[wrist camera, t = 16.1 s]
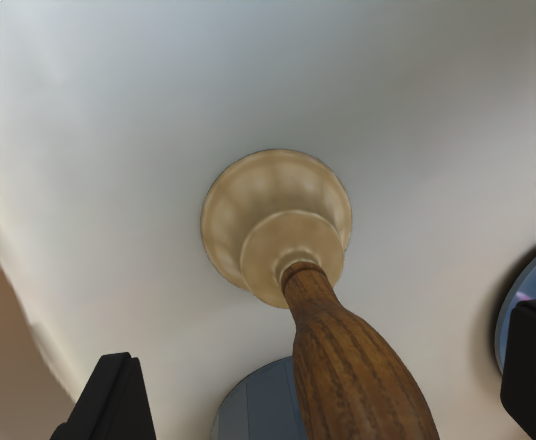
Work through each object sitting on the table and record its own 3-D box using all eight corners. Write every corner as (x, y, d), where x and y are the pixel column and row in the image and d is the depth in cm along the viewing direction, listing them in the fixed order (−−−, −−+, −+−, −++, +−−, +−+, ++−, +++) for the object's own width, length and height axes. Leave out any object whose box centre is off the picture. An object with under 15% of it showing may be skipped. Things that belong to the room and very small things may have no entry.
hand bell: (303, 117, 19) (607, 153, 4) (376, 244, 21) (740, 584, 6) (169, 204, 19) (-50, 548, 4) (254, 318, 22) (309, 795, 7)
